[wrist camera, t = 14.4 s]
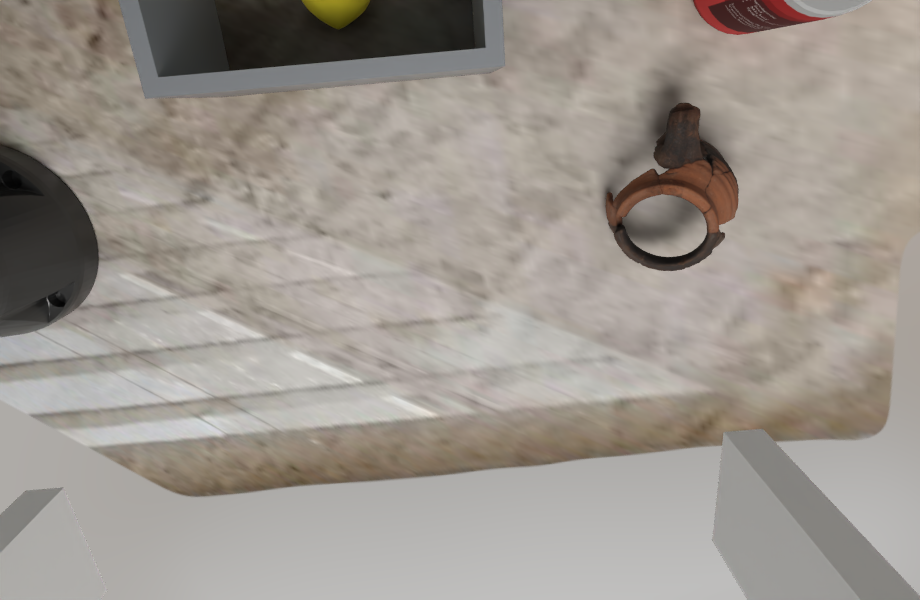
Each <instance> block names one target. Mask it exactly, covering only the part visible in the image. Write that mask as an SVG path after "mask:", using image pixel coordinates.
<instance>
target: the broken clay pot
mask: <svg viewBox="0 0 920 600" xmlns="http://www.w3.org/2000/svg"><path fill="white" fill-rule="evenodd" d="M699 118H700V109H699V108H697V107H695V106H692V105H691V104H690V103H679V104H678V105H677V106H676V107H675V108H673V109H672V110H671V111H670V113H669V118H668V123H667V131H666V132H665V133H664V135H663V136H661V137H660V138H659V139H658V140H657V142H656V143H657V147H655V152H654V158H655V160H656V161H657V163H658V164H659V165H660V166H661V167H663V168H669V170H668V171H666V172H665V173H663V174H661V175H658V173H657V172H656V170H655V169H651V170H649V171H647V172H646V173H644V174H642V175H641V176H639V177H638V178H636V179H634V180H633V181H632V182H631V183H629V184H628V185H627V186H626V187H625V188H624V189H623V190H622V191H621V192H620V193H619V194H618V195H617V197H616V198H615V200H614V201H613V195H612V193H611V192H610V193H607V197H606V213H607V219H608V221H609V223H608V224H609V226H610V228H611V230H612V232H613V233H614V237H615V240H616V241H617V244H618V245H619V247H620V248H621V249H622V251H623V252H624V253H625V254H626V255H627V256H628V257H629V258H630V259H632V260H634V261H635V262H637V263H641V264H642V265H643V266H646V267H648V268H652V269H656V270H661V271H675V270H682V269H685V268H686V267H690V266H692V265H695V264H697V263H699V262H700V261H702V260H703V259H705V258H706V257H707V256H709V255H710V254H711V253H712V250H713V249H714V248H715V247H716V246H718V245H719V244H720V243H721V242H722V241H723V239H724V238H725V233H723V232H722V233H721V232H720V230H719V225H720V224H724V223H726V222H728V221H730V220H731V219H733V218H734V217H735V212H736V210H737V208H738V184H737V180H736V177H735V176H734V174H733V172H732V170H731V168H730V167H729V165H728V164H727V163H726V161H725V160H724V158H723V157H722V155H721V154H720V153H719V152H718V150H717V149H715V148H714V147H713V146H712V145H710V144H709V143H707V142H704V141H702V140H700V138H699V133H698V128H699ZM703 156H704V157H705V158H706V159H707V161H706V160H704V159H703ZM661 194H665V195H673V196H677V197H681V198H683V199H685V200H688V201H689V202H691V203H693V204H694V205H695V206H696V207H698V208H699V210H700V211H701V212H702V213H703V215H704V217H705V220H706V223H707V235H706V238H705V239H704V241H703V242H702V244H701V245H700V246H699V247H698V248H696V249H695V250H694V251H692V252H690V253H688V254H686V255H682V256H677V257H661V256H656V255H652V254H650V253H647V252H645V251H643V250H642V249H640V248H639V247H637V246H636V245H635V244H634V243H633V242H632V241H631V240H630V238H629V236H628V235H627V233H626V230H625V227H624V226H623V225H622V217H626V216H627V214H628V212H629V211H630V210H631V209H632V207H633V206H634V205H635V204H637V203H638V202H640V201H642V200H643V199H646V198H649V197H652V196H656V195H661Z"/></svg>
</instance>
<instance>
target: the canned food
mask: <svg viewBox="0 0 920 600" xmlns="http://www.w3.org/2000/svg"><path fill="white" fill-rule="evenodd" d="M693 1H694V4H695V7H696V9H697V11H698V12H699V14H700V16H701V17H702V18H703V19H704V20H705V21H706V22H707V23H708V24H710V25H711V26H713V27H714V28H716V29H717V30H719V31H722V32H725V33H727V34H736V35H740V34H748V33H754V32H759V31H764V30H770V29H775V28H780V27H786V26H791V25H796V24H802V23H807V22H812V21H818V20H823V19H826V18H831V17H836V16H839V15H842V14H845V13H848V12H851V11H853V10H856V9H858V8H860V7H862V6H864V5H865V4H867V3H869V2H871V1H872V0H693Z"/></svg>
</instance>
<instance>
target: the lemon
mask: <svg viewBox="0 0 920 600" xmlns="http://www.w3.org/2000/svg"><path fill="white" fill-rule="evenodd" d="M301 1H302V2H303V3H304V5H305V6H306V8H307V9H308V10H309V11H310V12H311V13H312V14H313V15H315V16H316V17H317V18H318V19H319V20H321V21H323V22H324V23H326V24H328V25H329V26H331V27H333V28H336V29H341V28H343V27H345V26H347V25H348V24H350V23H351V22H353V21H354V20H355V19H356V18H358V17H359V16H360V15H361V14H362V13H363V12H364V11H365V10H366V8H367V6H368V4H369V2H370V1H371V0H301Z"/></svg>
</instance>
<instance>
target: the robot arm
mask: <svg viewBox="0 0 920 600" xmlns="http://www.w3.org/2000/svg"><path fill="white" fill-rule="evenodd" d="M97 269H98V248H97V242H96V238H95V234H94V231H93V228H92V225H91V223H90V221H89V218H88V216H87V214H86V212H85V211H84V209H83V207H82V206H81V204H80V203H79V201H78V200H77V198H76V197H75V196H74V194H73V193H72V192H71V191H70V189H69V188H68V187H67V186H66V185H65V184H64V183H63V182H62V181H61V180H60V179H59V178H58V177H57V176H56V175H54V174H53V173H52V172H51V171H50V170H48V169H47V168H46V167H44V166H43V165H41V164H40V163H38V162H37V161H35V160H34V159H32V158H30V157H28V156H26V155H24V154H22V153H20V152H18V151H16V150H13V149H10V148H8V147H4V146H1V145H0V337H6V336H12V335H19V334H25V333H29V332H33V331H36V330H39V329H42V328H44V327H46V326H49V325H51V324H52V323H54V322H56V321H57V320H59V319H61V318H63V317H64V316H66V315H68V314H69V313H71V312H72V311H74V310H75V309H76V308H77V307H78V306H79V305H80V304H81V303H82V302H83V301H84V300H85V299H86V297H87V296H88V294H89V293H90V291H91V289H92V287H93V284H94V282H95V278H96V274H97ZM712 541H713V542H714V544H715V546H716V548H717V549H718V551H719V553H720V554H721V556H722V558H723V559H724V561H725V563H726V564H727V566H728V568H729V569H730V571H731V573H732V575H733V576H734V578H735V580H736V581H737V583H738V585H739V586H740V588H741V590H742V591H743V593H744V595H745V596H746V598H747V600H920V596H919V595H918V594H917V592H916V591H914V589H913V588H912V587H911V586H910V585H909V584H908V583H907V582H906V581H905V580H904V579H903V578H902V577H901V575H900V574H898V572H897V571H896V570H895V569H894V568H893V567H892V566H891V565H890V564H889V563H888V562H887V561H886V560H885V558H884V557H883V556H882V555H881V554H880V553H879V552H878V551H877V550H876V549H875V548H874V547H873V546H872V545H871V544H870V543H869V541H868V540H867V539H866V538H865V537H864V536H863V535H862V534H861V533H860V532H859V531H858V530H857V529H856V528H855V527H854V526H853V524H852V523H851V522H850V521H849V520H848V519H847V518H846V517H845V516H844V515H843V514H842V513H841V512H840V511H839V510H838V509H837V507H836V506H835V505H834V504H833V503H832V502H831V501H830V500H829V499H828V498H827V497H826V496H825V495H824V494H823V493H822V491H821V490H820V489H819V488H818V487H817V486H816V485H815V484H814V483H813V482H812V481H811V480H810V479H809V478H808V477H807V476H806V475H805V473H804V472H803V471H802V470H801V469H800V468H799V467H798V466H797V465H796V464H795V463H794V462H793V461H792V460H791V459H790V458H789V456H788V455H787V454H786V453H785V452H784V451H783V450H782V449H781V448H780V447H779V446H778V445H777V444H776V443H775V442H774V440H773V439H772V438H771V437H770V436H769V435H768V434H767V433H766V432H765V431H764V430H763V429H756V430H744V431H732V432H724V434H723V444H722V453H721V463H720V473H719V482H718V491H717V502H716V511H715V520H714V530H713V539H712ZM106 591H107V589H106V586H105V584H104V581H103V579H102V577H101V574H100V572H99V570H98V567H97V565H96V563H95V560H94V558H93V555H92V553H91V551H90V548H89V546H88V544H87V541H86V539H85V537H84V534H83V532H82V529H81V527H80V525H79V522H78V520H77V518H76V515H75V513H74V511H73V508H72V506H71V504H70V501H69V499H68V496H67V494H66V492H65V489H64V488H54V489H42V490H30V491H25V492H24V493H23V494H22V495H21V496H20V497H19V498H17V499H16V500H15V501H14V502H13V503H12V504H11V505H10V506H9V507H8V508H7V509H6V510H5V511H4V512H3V513H2V514H1V515H0V600H101V599H102V597H103V595H104V594H105V593H106Z"/></svg>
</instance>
